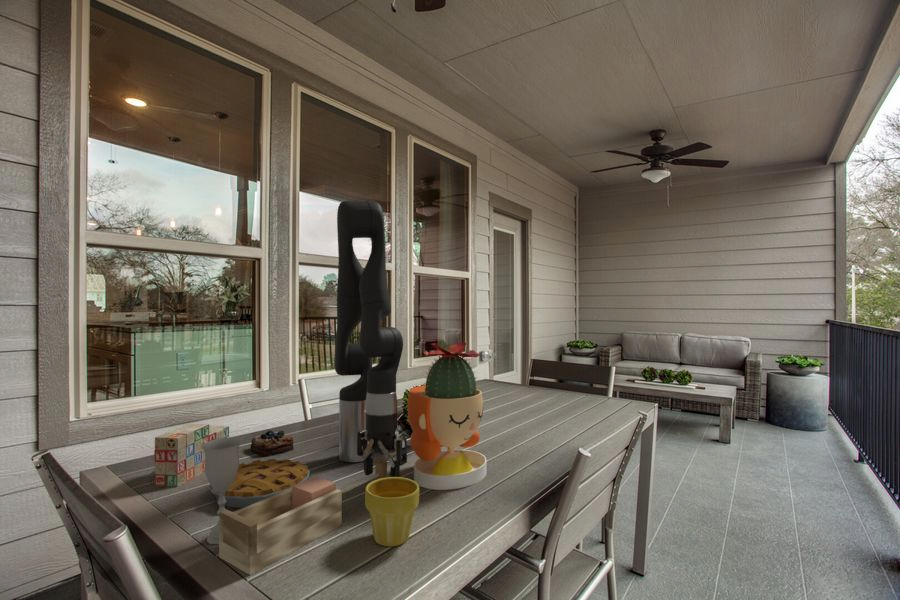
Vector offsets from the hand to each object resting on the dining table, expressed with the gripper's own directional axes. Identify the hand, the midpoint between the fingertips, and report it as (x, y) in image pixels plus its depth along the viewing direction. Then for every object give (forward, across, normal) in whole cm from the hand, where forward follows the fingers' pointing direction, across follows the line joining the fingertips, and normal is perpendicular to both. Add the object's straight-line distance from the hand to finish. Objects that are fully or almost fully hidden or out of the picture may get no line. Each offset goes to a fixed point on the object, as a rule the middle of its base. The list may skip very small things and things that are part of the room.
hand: (381, 477), depth 107 cm
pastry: (+4, +48, -4) cm, 49 cm away
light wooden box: (+3, 0, +27) cm, 27 cm away
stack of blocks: (+3, +50, +18) cm, 54 cm away
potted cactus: (+3, -6, -18) cm, 19 cm away
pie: (+4, +24, +16) cm, 29 cm away
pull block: (+1, 0, +11) cm, 11 cm away
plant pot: (+3, -16, +15) cm, 22 cm away
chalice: (+3, +11, +33) cm, 35 cm away
